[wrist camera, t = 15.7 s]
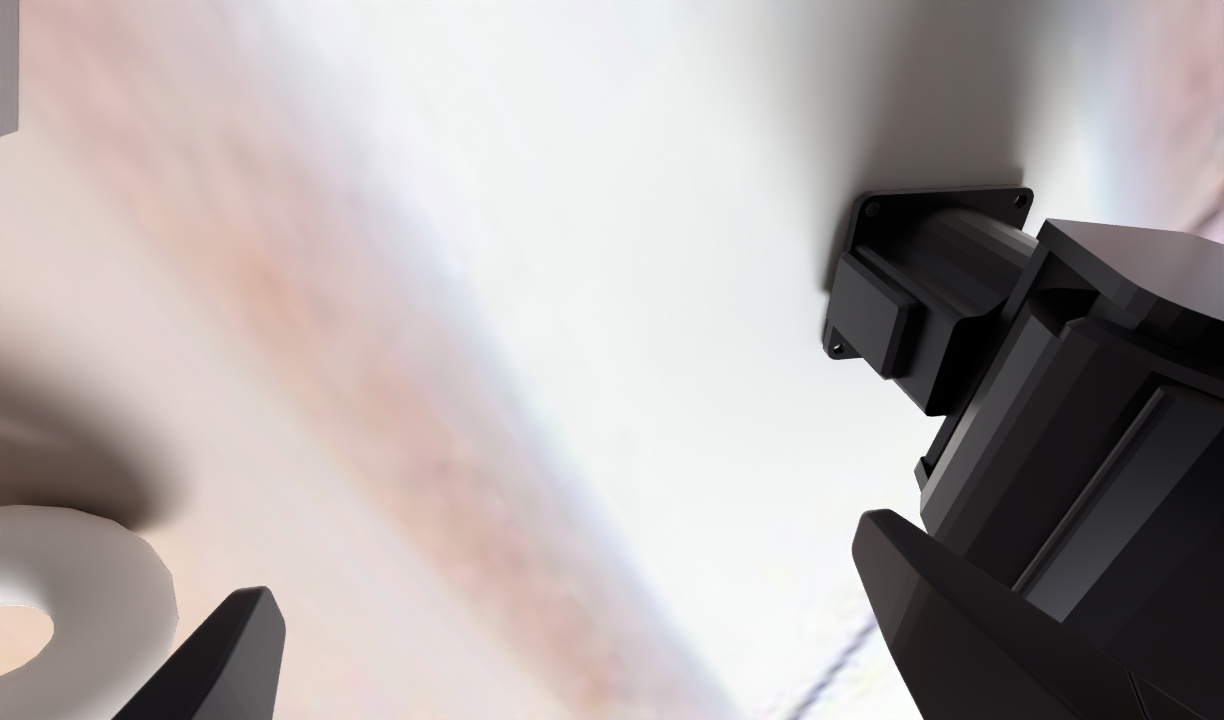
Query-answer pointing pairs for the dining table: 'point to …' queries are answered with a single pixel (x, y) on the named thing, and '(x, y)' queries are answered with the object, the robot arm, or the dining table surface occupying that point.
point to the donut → (83, 612)
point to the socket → (8, 66)
